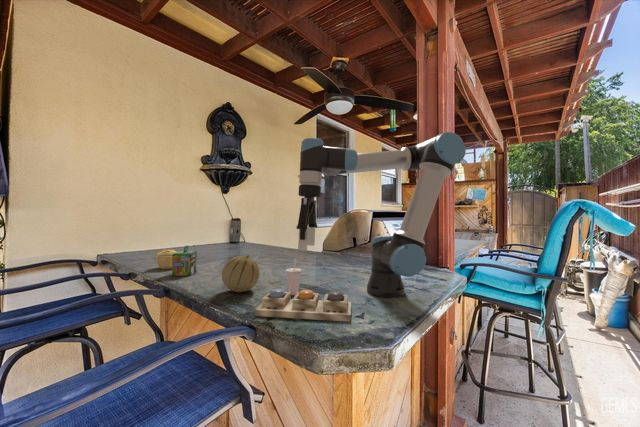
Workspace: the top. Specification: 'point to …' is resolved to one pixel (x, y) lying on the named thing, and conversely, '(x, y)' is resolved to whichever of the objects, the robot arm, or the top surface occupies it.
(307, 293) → the orange button
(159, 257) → the sculpture
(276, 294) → the blue button
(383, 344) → the top surface
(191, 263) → the chalk box
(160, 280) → the top surface
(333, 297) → the charcoal button
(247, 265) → the cantaloupe
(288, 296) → the button panel
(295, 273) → the smoothie
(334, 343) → the top surface
